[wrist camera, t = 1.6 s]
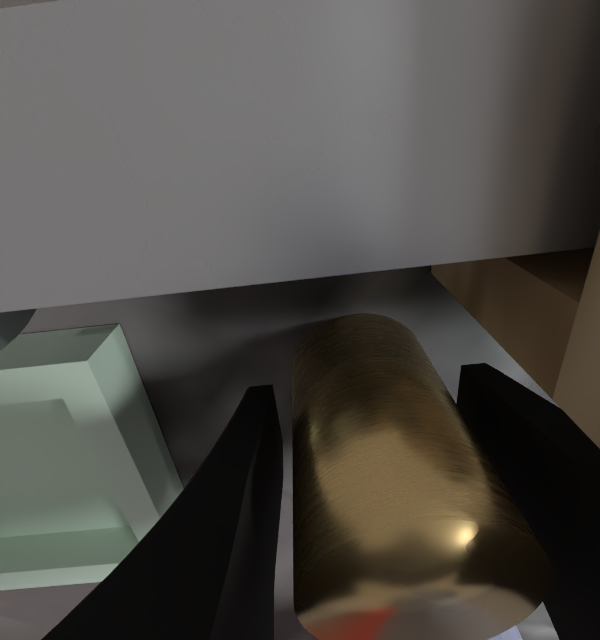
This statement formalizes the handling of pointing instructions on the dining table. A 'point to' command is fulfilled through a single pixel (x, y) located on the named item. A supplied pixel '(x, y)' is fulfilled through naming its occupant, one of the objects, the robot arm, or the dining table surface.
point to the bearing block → (541, 320)
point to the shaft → (287, 141)
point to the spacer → (398, 499)
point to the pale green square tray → (76, 458)
